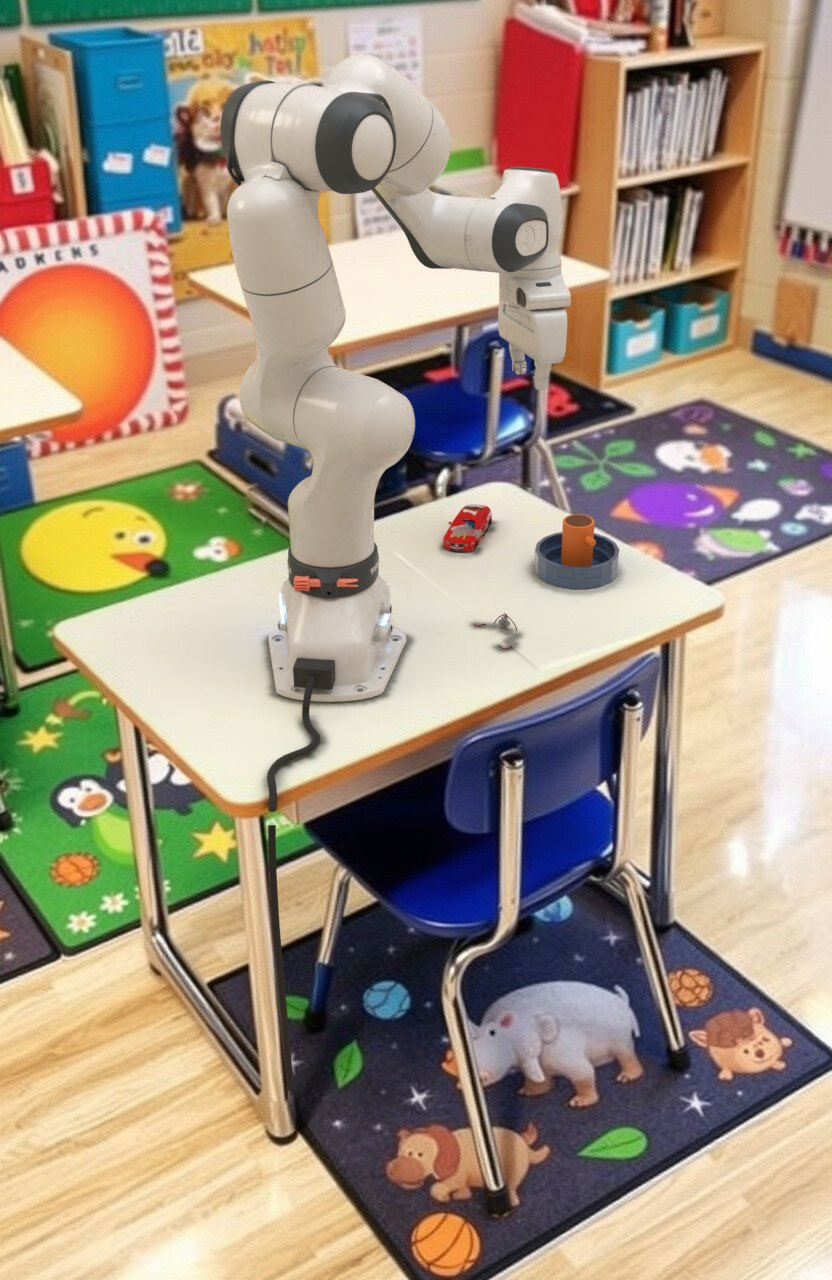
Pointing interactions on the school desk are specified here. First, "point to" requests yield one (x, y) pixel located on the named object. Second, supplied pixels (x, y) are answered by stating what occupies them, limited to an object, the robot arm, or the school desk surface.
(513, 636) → the school desk surface
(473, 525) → the race car
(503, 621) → the pendant
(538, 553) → the bowl
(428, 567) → the school desk surface
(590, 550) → the orange cylinder with nub
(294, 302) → the robot arm
